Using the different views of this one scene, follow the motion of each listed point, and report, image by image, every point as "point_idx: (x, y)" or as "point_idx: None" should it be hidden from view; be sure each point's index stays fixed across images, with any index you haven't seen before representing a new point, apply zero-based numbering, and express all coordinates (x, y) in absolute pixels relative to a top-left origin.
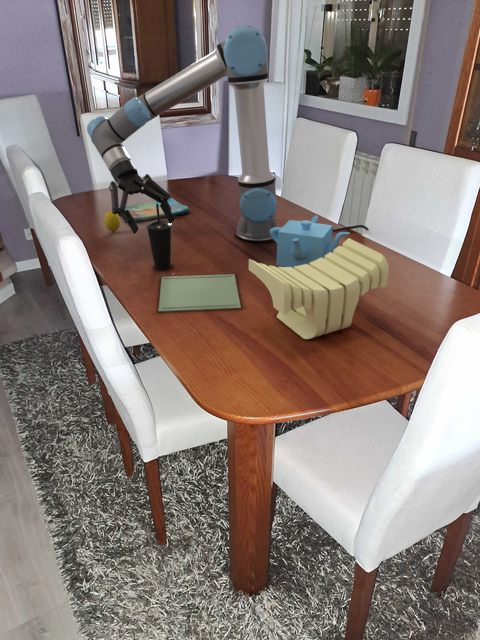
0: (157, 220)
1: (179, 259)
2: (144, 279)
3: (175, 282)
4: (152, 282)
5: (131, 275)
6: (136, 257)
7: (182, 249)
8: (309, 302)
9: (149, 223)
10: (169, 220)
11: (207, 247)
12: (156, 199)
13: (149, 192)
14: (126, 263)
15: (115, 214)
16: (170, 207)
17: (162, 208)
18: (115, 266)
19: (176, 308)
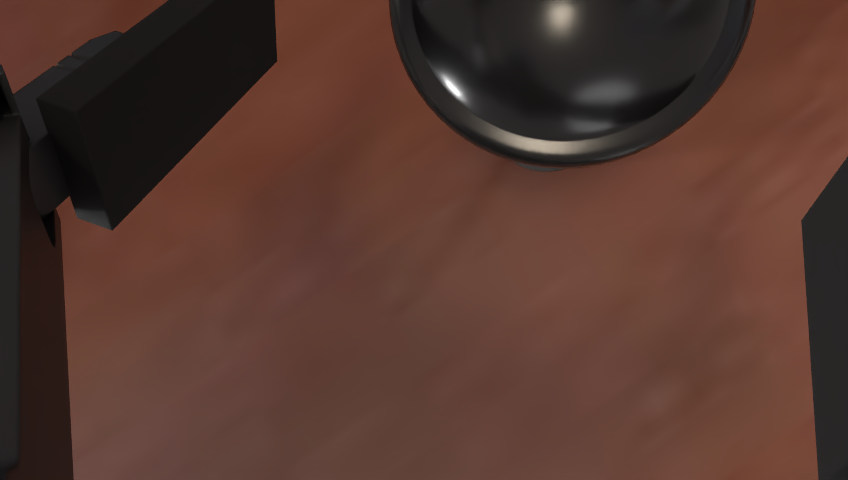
0: (542, 4)
1: (357, 90)
2: (811, 100)
3: None
4: (829, 12)
5: (795, 236)
6: (474, 412)
7: (182, 183)
8: None
9: (625, 103)
10: (260, 56)
11: (70, 39)
12: (54, 282)
13: (36, 396)
14: (613, 413)
15: None
16: (89, 47)
17: (150, 167)
18: (706, 458)
19: None
